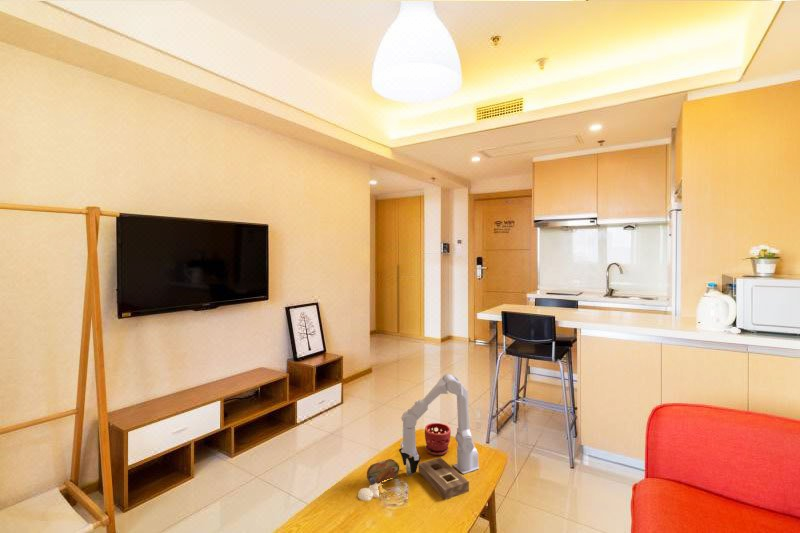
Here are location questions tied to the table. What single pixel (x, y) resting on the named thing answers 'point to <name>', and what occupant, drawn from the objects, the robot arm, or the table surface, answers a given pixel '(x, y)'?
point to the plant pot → (437, 438)
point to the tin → (382, 471)
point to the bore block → (443, 478)
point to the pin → (408, 467)
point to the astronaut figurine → (369, 492)
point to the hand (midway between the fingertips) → (409, 468)
